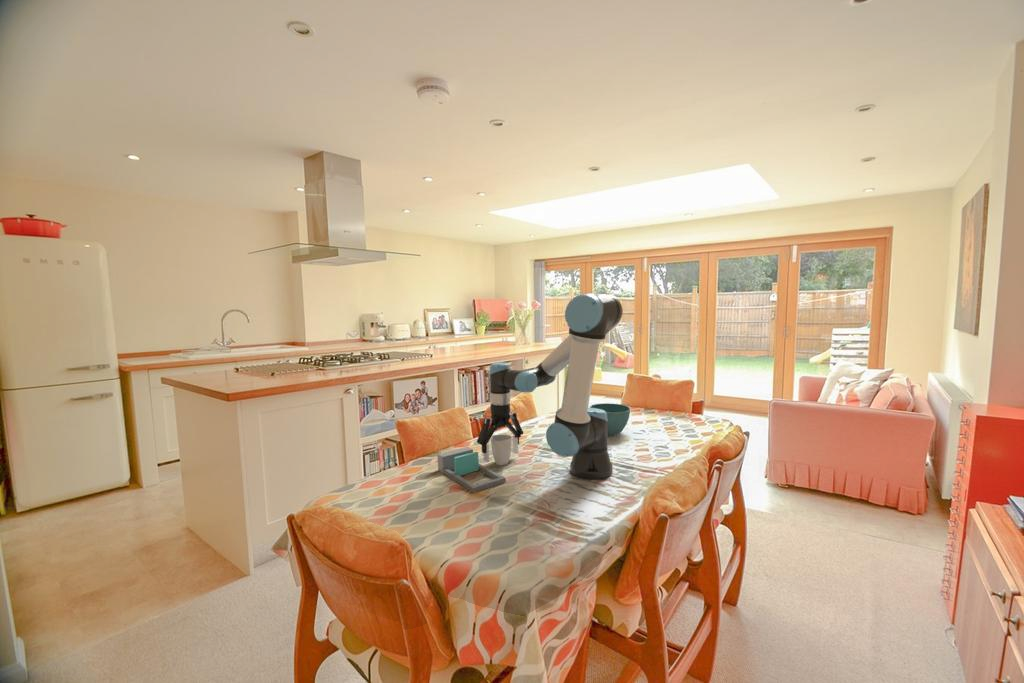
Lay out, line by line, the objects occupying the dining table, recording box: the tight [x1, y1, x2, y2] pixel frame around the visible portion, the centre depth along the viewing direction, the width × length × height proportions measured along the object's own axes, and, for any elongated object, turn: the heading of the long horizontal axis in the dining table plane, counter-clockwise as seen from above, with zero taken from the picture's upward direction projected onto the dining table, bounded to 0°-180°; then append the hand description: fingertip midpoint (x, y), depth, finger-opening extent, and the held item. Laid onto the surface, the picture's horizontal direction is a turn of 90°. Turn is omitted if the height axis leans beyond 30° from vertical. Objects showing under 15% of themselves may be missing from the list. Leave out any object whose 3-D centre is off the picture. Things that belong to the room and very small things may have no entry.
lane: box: [437, 446, 507, 493], centre depth 157 cm, size 26×13×6 cm, turn 36°
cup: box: [490, 433, 512, 466], centre depth 168 cm, size 8×8×10 cm
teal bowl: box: [589, 402, 631, 437], centre depth 202 cm, size 18×18×12 cm
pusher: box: [454, 451, 480, 476], centre depth 160 cm, size 5×9×7 cm, turn 126°
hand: (501, 456), depth 169 cm, fingers open, 13 cm apart
